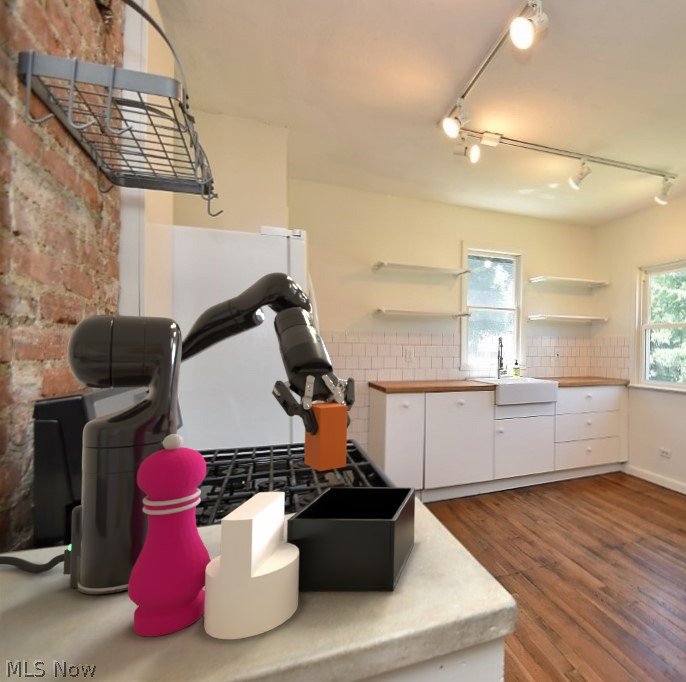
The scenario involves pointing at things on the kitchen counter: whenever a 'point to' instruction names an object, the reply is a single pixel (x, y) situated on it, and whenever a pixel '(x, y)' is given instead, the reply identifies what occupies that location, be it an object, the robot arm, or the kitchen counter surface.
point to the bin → (353, 538)
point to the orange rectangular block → (327, 437)
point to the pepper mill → (170, 542)
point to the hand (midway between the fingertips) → (330, 429)
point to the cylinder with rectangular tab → (252, 571)
